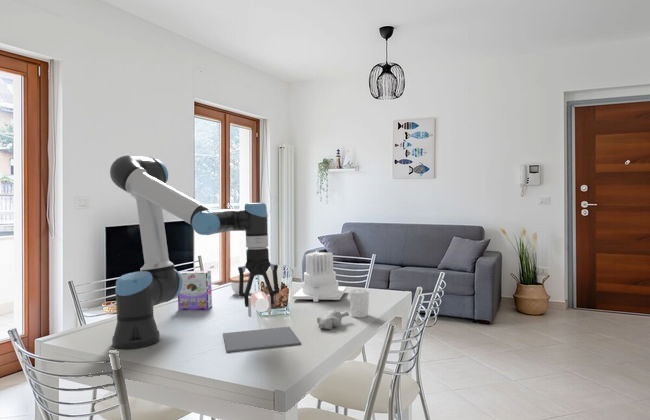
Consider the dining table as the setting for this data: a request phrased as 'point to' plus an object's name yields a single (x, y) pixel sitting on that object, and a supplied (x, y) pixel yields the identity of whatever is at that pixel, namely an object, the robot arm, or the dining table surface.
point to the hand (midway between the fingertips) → (259, 314)
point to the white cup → (359, 302)
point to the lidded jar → (236, 284)
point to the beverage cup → (259, 301)
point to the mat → (260, 339)
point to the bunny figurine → (331, 319)
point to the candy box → (195, 291)
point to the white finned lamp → (320, 279)
